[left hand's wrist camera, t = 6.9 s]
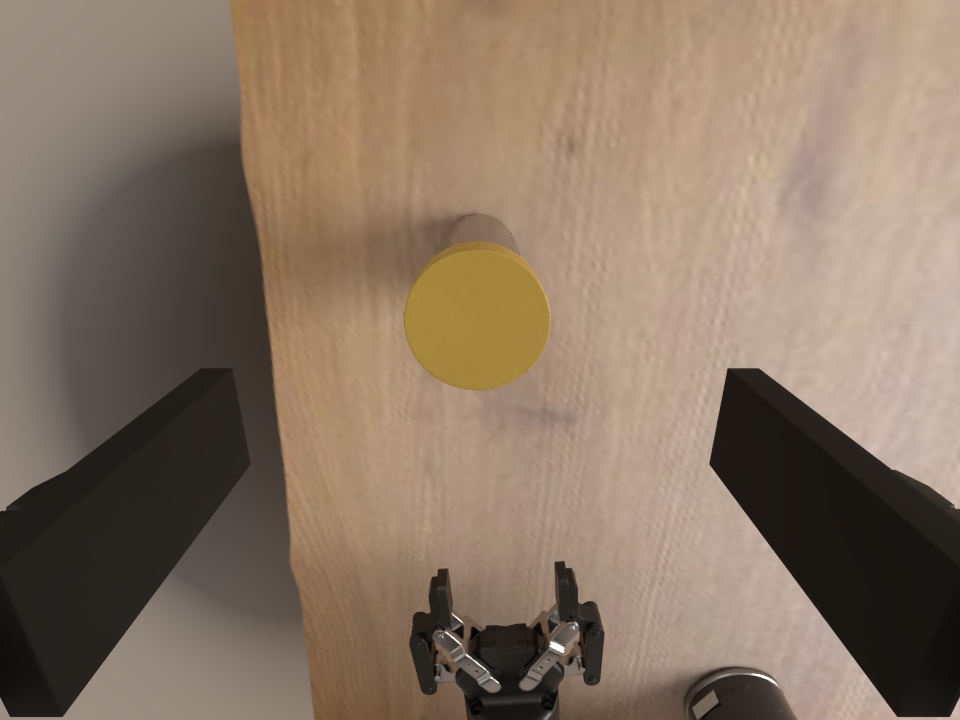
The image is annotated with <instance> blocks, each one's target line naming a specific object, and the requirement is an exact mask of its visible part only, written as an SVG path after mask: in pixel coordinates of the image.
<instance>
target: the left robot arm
mask: <svg viewBox="0 0 960 720" xmlns="http://www.w3.org/2000/svg"><path fill="white" fill-rule="evenodd" d="M250 464H251V463H250V458H249V453H248V448H247V442H246V437H245V432H244V427H243V422H242V416H241V411H240V406H239V401H238V396H237V390H236V385H235V380H234V375H233V369H232V368H202V369H200V370H198V371H197V372H196V373H195V374H193V375H192V376H191V377H189V378H188V379H187V380H185V381H184V382H183V383H181V384H180V385H179V386H177V387H176V388H175V389H174V390H172V391H171V392H170V393H168V394H167V395H166V396H164V397H163V398H162V399H160V400H159V401H158V402H156V403H155V404H154V405H153V406H151V407H150V408H149V409H147V410H146V411H145V412H143V413H142V414H141V415H139V416H138V417H137V418H135V419H134V420H133V421H132V422H130V423H129V424H128V425H126V426H125V427H124V428H122V429H121V430H120V431H118V432H117V433H116V434H114V435H113V436H112V437H111V438H109V439H108V440H107V441H105V442H104V443H103V444H101V445H100V446H99V447H97V448H96V449H95V450H93V451H92V452H91V453H90V454H88V455H87V456H86V457H84V458H83V459H82V460H80V461H79V462H78V463H76V464H75V465H74V466H72V467H71V468H70V469H69V470H67V471H66V472H63V473H61V474H59V475H57V476H55V477H54V478H51V479H49V480H47V481H45V482H43V483H41V484H39V485H37V486H35V487H33V488H32V489H30V490H29V491H28V492H26V493H25V494H24V495H22V496H21V497H19V498H18V499H17V500H15V501H14V502H13V503H11V504H10V505H9V506H7V507H6V508H7V509H6V511H1V512H0V698H1V700H2V702H3V704H4V706H5V708H6V710H7V712H8V714H9V716H10V717H63V716H64V714H65V713H66V711H67V710H68V709H69V708H70V706H71V705H72V704H73V702H74V701H75V699H76V698H77V697H78V695H79V694H80V693H81V691H82V690H83V689H84V687H85V686H86V685H87V683H88V682H89V681H90V679H91V678H92V677H93V675H94V674H95V673H96V671H97V670H98V669H99V667H100V666H101V665H102V663H103V662H104V661H105V659H106V658H107V656H108V655H109V654H110V653H111V651H112V650H113V648H114V647H115V646H116V644H117V643H118V642H119V640H120V639H121V638H122V636H123V635H124V634H125V632H126V631H127V630H128V628H129V627H130V626H131V624H132V623H133V622H134V620H135V619H136V618H137V616H138V615H139V614H140V612H141V611H142V610H143V608H144V607H145V605H146V604H147V603H148V601H149V600H150V599H151V597H152V596H153V595H154V593H155V592H156V591H157V589H158V588H159V587H160V585H161V584H162V583H163V581H164V580H165V579H166V577H167V576H168V575H169V573H170V572H171V571H172V569H173V568H174V567H175V565H176V564H177V563H178V561H179V560H180V558H181V557H182V556H183V554H184V553H185V552H186V550H187V549H188V548H189V546H190V545H191V544H192V542H193V541H194V540H195V538H196V537H197V536H198V534H199V533H200V532H201V530H202V529H203V527H204V526H205V525H206V523H207V522H208V521H209V519H210V518H211V517H212V515H213V514H214V513H215V511H216V510H217V509H218V507H219V506H220V505H221V503H222V502H223V501H224V499H225V498H226V497H227V495H228V494H229V493H230V491H231V490H232V489H233V487H234V486H235V485H236V483H237V482H238V481H239V479H240V478H241V477H242V475H243V474H244V472H245V471H246V470H247V468H248V467H249V466H250ZM709 464H710V466H711V467H712V468H713V470H714V471H715V473H716V474H717V475H718V477H719V478H720V479H721V481H722V482H723V483H724V485H725V486H726V487H727V489H728V490H729V491H730V493H731V494H732V495H733V497H734V498H735V499H736V501H737V502H738V503H739V505H740V506H741V507H742V509H743V510H744V511H745V513H746V514H747V515H748V517H749V518H750V520H751V521H752V522H753V524H754V525H755V526H756V528H757V529H758V530H759V532H760V533H761V534H762V536H763V537H764V538H765V540H766V541H767V542H768V544H769V545H770V546H771V548H772V549H773V550H774V552H775V553H776V554H777V556H778V557H779V558H780V560H781V561H782V563H783V564H784V565H785V567H786V568H787V569H788V571H789V572H790V573H791V575H792V576H793V577H794V579H795V580H796V581H797V583H798V584H799V585H800V587H801V588H802V589H803V591H804V592H805V593H806V595H807V596H808V597H809V599H810V600H811V601H812V603H813V604H814V606H815V607H816V608H817V610H818V611H819V612H820V614H821V615H822V616H823V618H824V619H825V620H826V622H827V623H828V624H829V626H830V627H831V628H832V630H833V631H834V632H835V634H836V635H837V636H838V638H839V639H840V640H841V642H842V643H843V644H844V646H845V647H846V648H847V650H848V651H849V653H850V654H851V655H852V657H853V658H854V659H855V661H856V662H857V663H858V665H859V666H860V667H861V669H862V670H863V671H864V673H865V674H866V675H867V677H868V678H869V679H870V681H871V682H872V683H873V685H874V686H875V687H876V689H877V690H878V691H879V693H880V694H881V696H882V697H883V698H884V700H885V701H886V702H887V704H888V705H889V706H890V708H891V709H892V710H893V712H894V713H895V714H896V716H897V717H950V716H951V714H952V712H953V710H954V708H955V706H956V704H957V702H958V700H959V698H960V509H955V507H954V504H952V503H951V502H949V501H948V500H947V499H945V498H944V497H943V496H941V495H940V494H939V493H937V492H936V491H934V490H933V489H932V488H930V487H929V486H927V485H925V484H923V483H921V482H919V481H917V480H915V479H913V478H911V477H909V476H907V475H905V474H903V473H901V472H899V471H897V470H891V469H890V468H889V467H888V466H886V465H885V464H884V463H882V462H881V461H880V460H878V459H877V458H876V457H874V456H873V455H872V454H870V453H869V452H868V451H867V450H865V449H864V448H863V447H861V446H860V445H859V444H857V443H856V442H855V441H853V440H852V439H851V438H849V437H848V436H847V435H846V434H844V433H843V432H842V431H840V430H839V429H838V428H836V427H835V426H834V425H832V424H831V423H830V422H828V421H827V420H826V419H825V418H823V417H822V416H821V415H819V414H818V413H817V412H815V411H814V410H813V409H811V408H810V407H809V406H807V405H806V404H805V403H804V402H802V401H801V400H800V399H798V398H797V397H796V396H794V395H793V394H792V393H790V392H789V391H788V390H786V389H785V388H784V387H783V386H781V385H780V384H779V383H777V382H776V381H775V380H773V379H772V378H771V377H769V376H768V375H767V374H765V373H764V372H763V371H762V370H760V369H759V368H728V369H727V375H726V380H725V385H724V390H723V395H722V401H721V406H720V411H719V416H718V421H717V427H716V432H715V437H714V442H713V448H712V453H711V458H710V463H709Z"/></svg>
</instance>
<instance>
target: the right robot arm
mask: <svg viewBox="0 0 960 720" xmlns="http://www.w3.org/2000/svg"><path fill="white" fill-rule="evenodd" d="M555 591H556V604H555V605H554V606H553V607H552V608H551V609H550V610H549V611H548V612H546V611H543V612H542V613H541V614H540V615H539V616H538V617H537V618H536V619H535V620H534V622H533V623H532V624H531V625H530V626H529V627H526V623H524V624H514V625H510V626H506V627H505V626H498V625H492V626H486V629H483V628H481V627H480V626H479V625H478V624H477V623H475V622H474V621H473V620H472V619H471V618H469V617H468V616H464V617H461V616H460V615H459V614H458V613H457V612H455V611H454V610H453V609H452V607H453V601H452V594H451V587H450V579H449V572H448V568H446V569H438V576H437V577H432V579H431V582H430V589H429V603H430V609H431V613H429V614H426V613H425V612H417V613H415V614H414V616H413V626H412V633H411V637H410V643H409V646H410V649H411V653H412V657H413V661H414V664H415V668H416V672H417V676H418V679H419V683H420V687H421V691H422V692H423V693H424V694H427V695H432V694H434V693H436V691H437V684H439V683H449V682H456V683H457V684H458V686H459V687H460V688H461V689H462V690H463V692H464V697H465V705H466V712H467V719H468V720H559V694H558V686H559V683H560V682H561V681H562V679H563V677H564V675H583V677H584V682H585V683H586V684H587V685H596V684H598V683H599V682H600V675H601V664H602V654H603V643H604V630H603V626H602V622H601V618H600V615H599V611H598V607H597V604H596V603H595V602H592V601H588V602H585V603H584V604H579V603H578V587H577V583H576V578H575V574H574V572H573V570H572V568H566V567H565V562H564V561H559V562H555ZM579 631H580V638H579V641H575V642H574V647H573V648H572V649H571V652H570V654H568V655H567V656H563V657H562V655H563V652H564V647H565V645H566V644H567V643H568V642H569V641H570V640H571V639H572V638H573V637H574V636H575V635H576V634H577V633H578V632H579ZM470 641H471V642H470ZM435 642H437V643H438V644H439V645H441V646H442V647H443V648H444V649H446V650H447V651H448V652H449V653H450V654H451V657H452V660H453V661H454V663H451V662H449V661H447V659H446V657H445V656H443V655H442V650H440V649H439V650H436V645H435ZM684 709H685V713H686V716H687V719H688V720H797V718H796V716H795V715H794V713H793V711H792V709H791V708H790V706H789V704H788V702H787V701H786V699H785V697H784V693H783V691H782V689H781V688H780V686H779V684H778V682H777V681H776V680H775V679H774V678H773V677H772V676H770V675H769V674H767V673H765V672H763V671H760V670H757V669H752V668H731V669H725V670H721V671H718V672H715V673H713V674H710V675H708V676H707V677H705V678H703V679H702V680H700V681H699V682H698V683H696V684H695V685H694V686H693V687H692V689H691V690H690V691H689V693H688V694H687V696H686V699H685V703H684Z"/></svg>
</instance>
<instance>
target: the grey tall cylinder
mask: <svg viewBox="0 0 960 720" xmlns="http://www.w3.org/2000/svg"><path fill="white" fill-rule="evenodd" d="M471 241H483V242H491V243H495V244H498V245H501V246H504V247H506V248H508V249H510V250H512V251H514V252H515V253H517V254H518V255H519V256H520V254H519V251H518V249H517V246H516V244H515V241H514V239H513V237H512V234H511V233H510V231H509V229H508V228H507V227H506V226H505V225H504V224H503V223H502V222H501V221H499V220H498V219H496V218H494V217H492V216H489V215H485V214H473V215H468V216H465V217H463V218H461V219H459V220H458V221H456V222H455V223H454V224H453V225H452V226H451V227H450V228H449V229H448V231H447V232H446V234H445V236H444V239H443V241H442V243H441V245H440V248H439V250H438V252H437V254H438V253H440V252H441V251H443V250H445V249H447V248H449V247H451V246H453V245H456V244H459V243H464V242H471ZM437 254H436V255H437Z"/></svg>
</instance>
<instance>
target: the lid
mask: <svg viewBox="0 0 960 720" xmlns="http://www.w3.org/2000/svg"><path fill="white" fill-rule="evenodd" d="M404 327H405V334H406V338H407V341H408V344H409V346H410V349H411V351H412V352H413V354H414V356H415V358H416V359H417V360H418V362H419V363H420V364H421V365H422V366H423V367H424V368H425V369H426V370H427V371H428V372H429V373H430V374H432V375H433V376H434V377H436V378H437V379H439V380H441V381H442V382H445V383H447V384H449V385H452V386H455V387H458V388H462V389H468V390H487V389H492V388H497V387H500V386H503V385H506V384H508V383H510V382H512V381H514V380H516V379H518V378H519V377H521V376H522V375H523V374H524V373H526V372H527V371H528V370H529V369H530V368H531V367H532V366H533V365H534V364H535V362H536V361H537V360H538V359H539V357H540V355H541V354H542V352H543V350H544V348H545V345H546V343H547V340H548V336H549V331H550V309H549V304H548V301H547V297H546V295H545V293H544V290H543V288H542V286H541V284H540V282H539V280H538V277H537V276H536V274H535V272H534V271H533V269H532V268H531V267H530V265H529V264H528V263H527V262H526V261H525V260H524V259H523V258H522V257H521V256H519V255H518V254H517V253H515V252H514V251H512V250H510V249H508V248H506V247H504V246H501V245H498V244H495V243H491V242H483V241H471V242H464V243H459V244H456V245H453V246H451V247H449V248H447V249H445V250H443V251H441V252H440V253H438V254H437V255H435V256H434V257H433V258H432V259H431V260H430V261H429V262H428V263H427V264H426V265H425V266H424V268H423V269H422V271H421V272H420V274H419V275H418V277H417V279H416V281H415V283H414V285H413V287H412V289H411V291H410V293H409V295H408V299H407V302H406V306H405V312H404Z"/></svg>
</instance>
